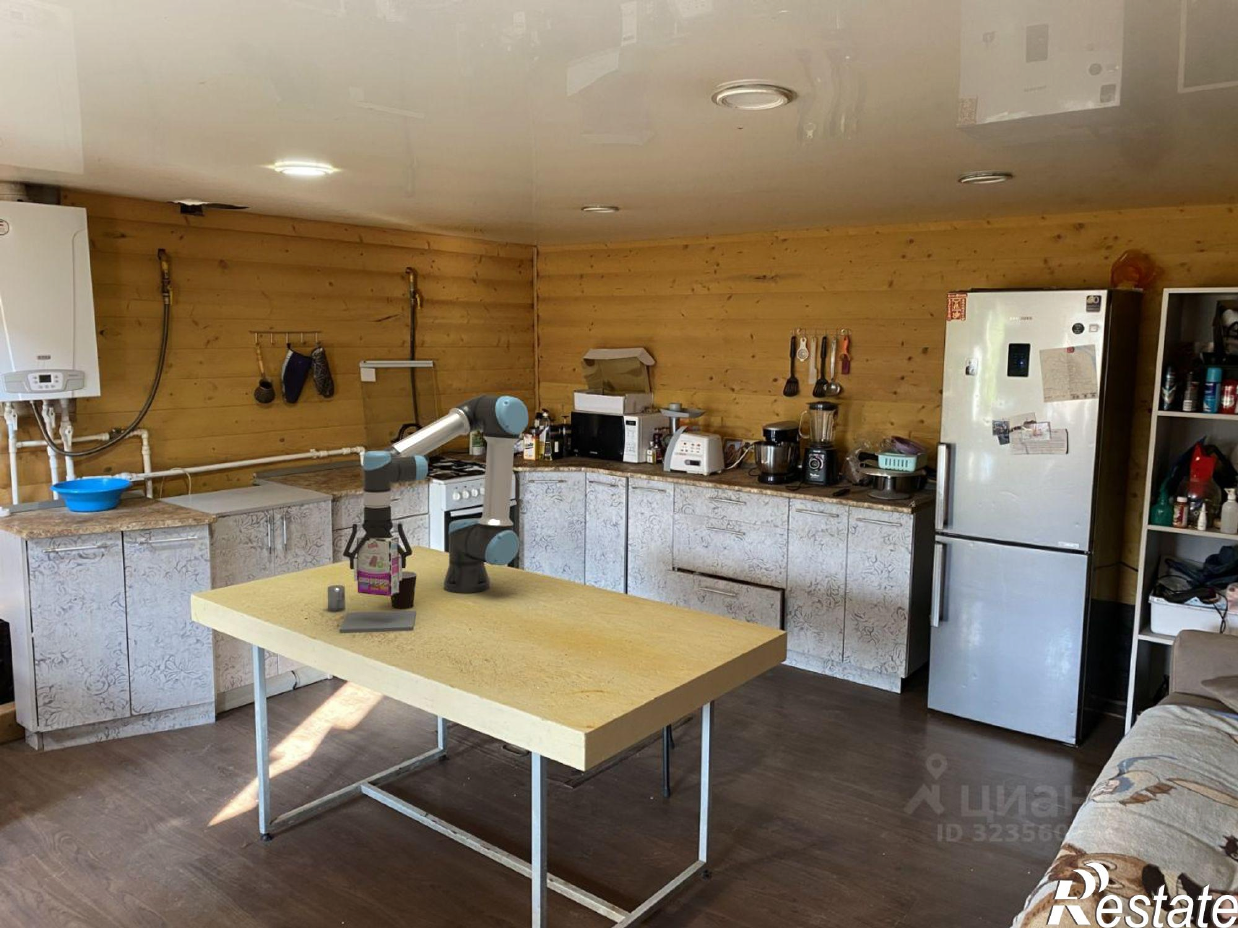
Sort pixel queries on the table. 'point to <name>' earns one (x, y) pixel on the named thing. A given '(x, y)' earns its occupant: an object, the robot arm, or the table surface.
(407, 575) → the coffee mug
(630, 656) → the table surface
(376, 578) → the candy bar box
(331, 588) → the metal canister
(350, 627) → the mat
